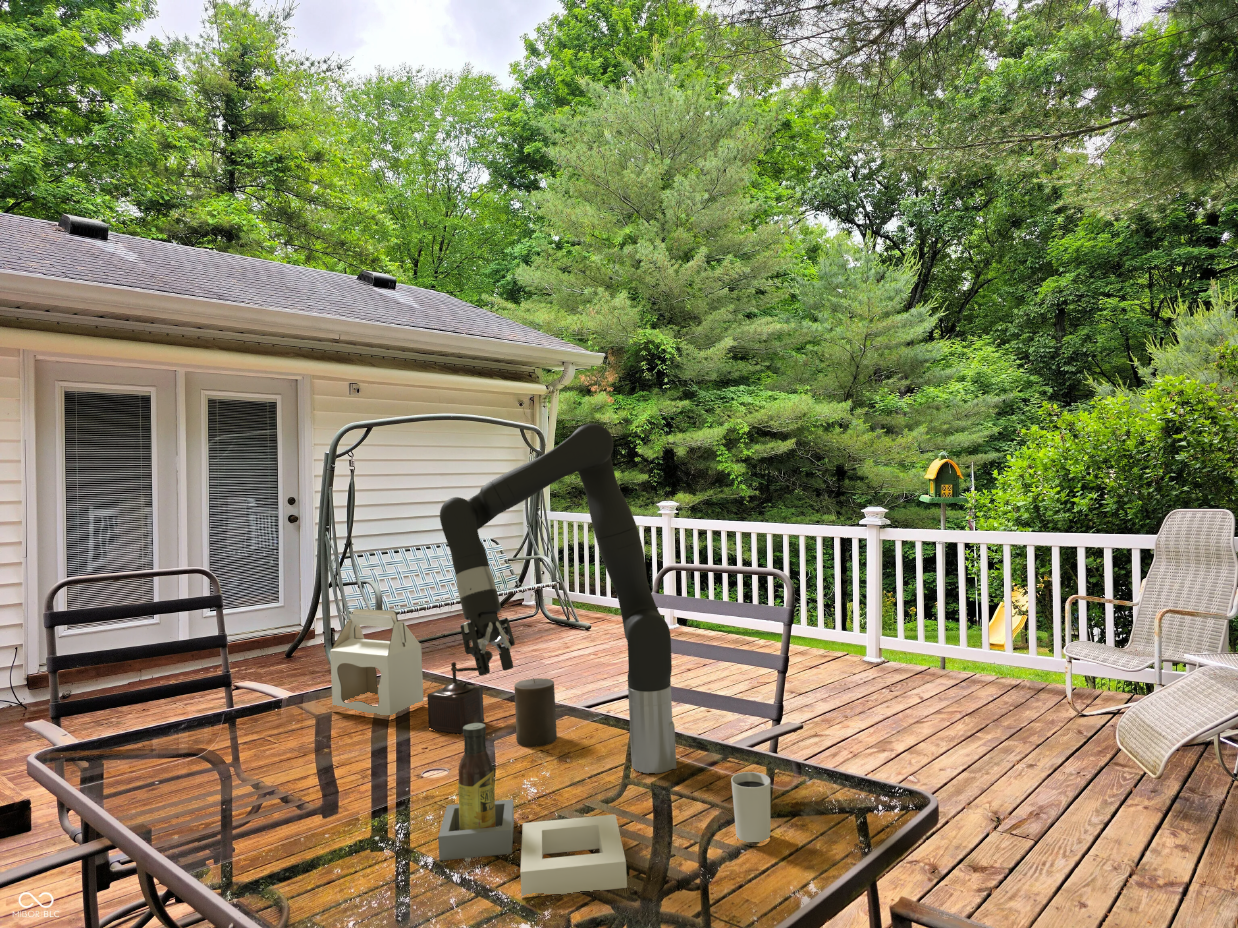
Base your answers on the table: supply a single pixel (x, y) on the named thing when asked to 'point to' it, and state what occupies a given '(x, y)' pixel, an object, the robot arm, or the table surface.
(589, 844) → the socket collar
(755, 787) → the white coffee cup
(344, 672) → the gable box
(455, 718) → the manual coffee grinder
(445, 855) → the frame
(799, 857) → the table surface
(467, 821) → the sauce bottle
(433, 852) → the table surface
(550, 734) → the pillar candle
